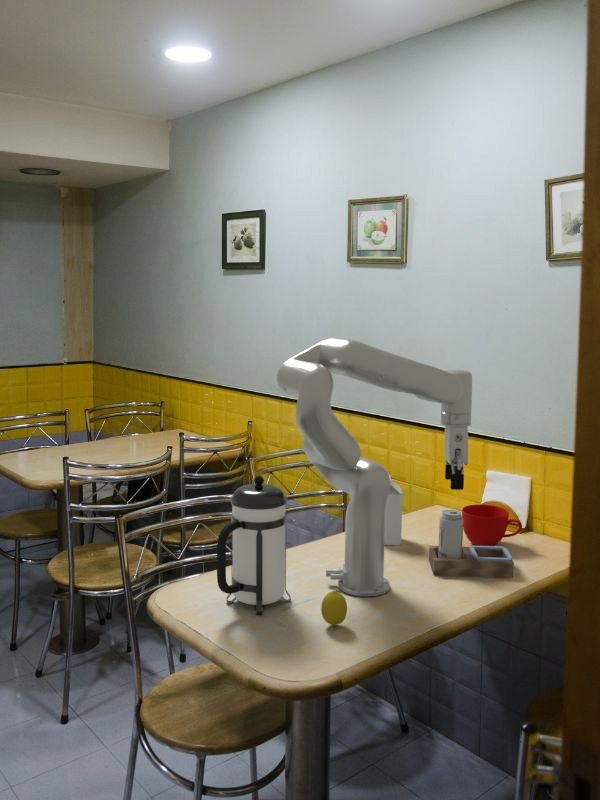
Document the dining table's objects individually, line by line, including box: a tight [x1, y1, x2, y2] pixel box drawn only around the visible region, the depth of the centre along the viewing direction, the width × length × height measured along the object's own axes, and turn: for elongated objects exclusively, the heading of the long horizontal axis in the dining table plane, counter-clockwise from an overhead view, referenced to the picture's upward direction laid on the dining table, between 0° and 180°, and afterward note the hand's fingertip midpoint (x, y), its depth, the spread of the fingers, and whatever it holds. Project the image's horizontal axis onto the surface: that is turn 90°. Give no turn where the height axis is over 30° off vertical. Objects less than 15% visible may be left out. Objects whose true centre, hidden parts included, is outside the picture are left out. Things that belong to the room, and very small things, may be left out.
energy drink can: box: [438, 509, 464, 559], centre depth 192 cm, size 6×6×15 cm
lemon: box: [320, 590, 348, 627], centre depth 158 cm, size 6×6×8 cm
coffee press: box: [216, 475, 292, 616], centre depth 167 cm, size 17×16×30 cm
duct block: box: [428, 545, 515, 579], centre depth 192 cm, size 20×11×5 cm, turn 87°
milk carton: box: [384, 474, 403, 547], centre depth 212 cm, size 7×7×19 cm
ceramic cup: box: [461, 504, 523, 546], centre depth 210 cm, size 13×17×10 cm
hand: (454, 484), depth 190 cm, fingers open, 9 cm apart
